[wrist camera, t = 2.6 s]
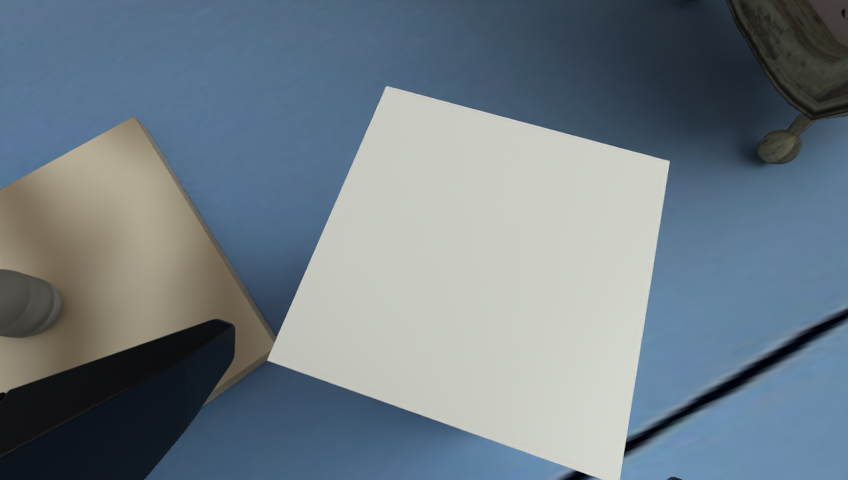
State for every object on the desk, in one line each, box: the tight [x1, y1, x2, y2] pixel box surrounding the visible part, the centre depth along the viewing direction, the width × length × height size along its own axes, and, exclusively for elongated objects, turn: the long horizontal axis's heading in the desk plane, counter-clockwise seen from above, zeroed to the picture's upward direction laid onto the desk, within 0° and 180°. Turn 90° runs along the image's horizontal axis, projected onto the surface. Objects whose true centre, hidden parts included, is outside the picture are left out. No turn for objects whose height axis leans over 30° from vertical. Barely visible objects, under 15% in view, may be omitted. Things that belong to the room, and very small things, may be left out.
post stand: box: [0, 117, 277, 407], centre depth 17 cm, size 14×14×4 cm
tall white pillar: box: [267, 86, 670, 480], centre depth 13 cm, size 6×6×12 cm
